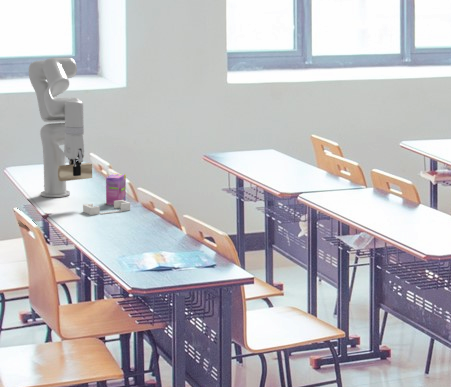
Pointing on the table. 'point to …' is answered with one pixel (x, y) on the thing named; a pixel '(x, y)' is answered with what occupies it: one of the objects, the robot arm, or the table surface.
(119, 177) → the box
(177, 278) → the table surface
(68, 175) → the slat
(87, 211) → the endcaps
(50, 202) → the table surface
